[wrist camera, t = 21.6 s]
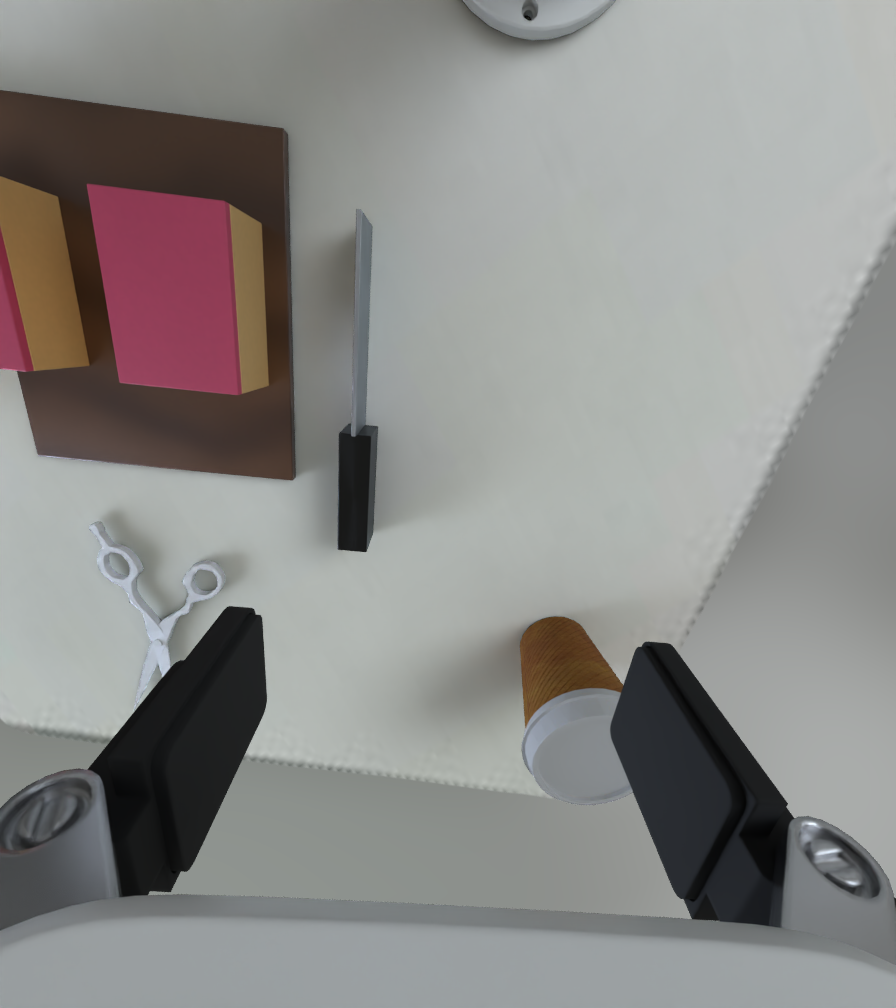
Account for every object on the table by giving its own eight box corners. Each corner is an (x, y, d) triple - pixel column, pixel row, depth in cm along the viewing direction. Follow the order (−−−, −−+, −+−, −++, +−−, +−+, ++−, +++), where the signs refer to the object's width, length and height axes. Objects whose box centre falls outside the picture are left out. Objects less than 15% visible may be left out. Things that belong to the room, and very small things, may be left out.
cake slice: (-10, 188, 26) (-107, 157, 22) (58, 196, 27) (-24, 167, 22) (30, 359, 30) (-46, 364, 25) (90, 365, 30) (25, 371, 26)
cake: (147, 209, 27) (85, 182, 22) (261, 223, 27) (224, 200, 23) (168, 375, 30) (119, 382, 26) (269, 386, 31) (238, 395, 26)
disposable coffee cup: (625, 640, 40) (694, 758, 29) (550, 698, 43) (588, 827, 32) (556, 581, 38) (603, 685, 27) (481, 647, 40) (495, 767, 29)
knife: (353, 223, 28) (339, 206, 24) (387, 227, 28) (378, 211, 24) (346, 530, 36) (335, 553, 32) (373, 533, 36) (365, 556, 32)
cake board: (-41, 89, 25) (-56, 82, 25) (288, 133, 26) (283, 127, 25) (46, 453, 33) (37, 456, 33) (296, 477, 34) (292, 480, 33)
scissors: (224, 553, 36) (208, 728, 43) (228, 549, 36) (212, 722, 43) (88, 523, 35) (95, 708, 41) (96, 520, 35) (101, 702, 42)
